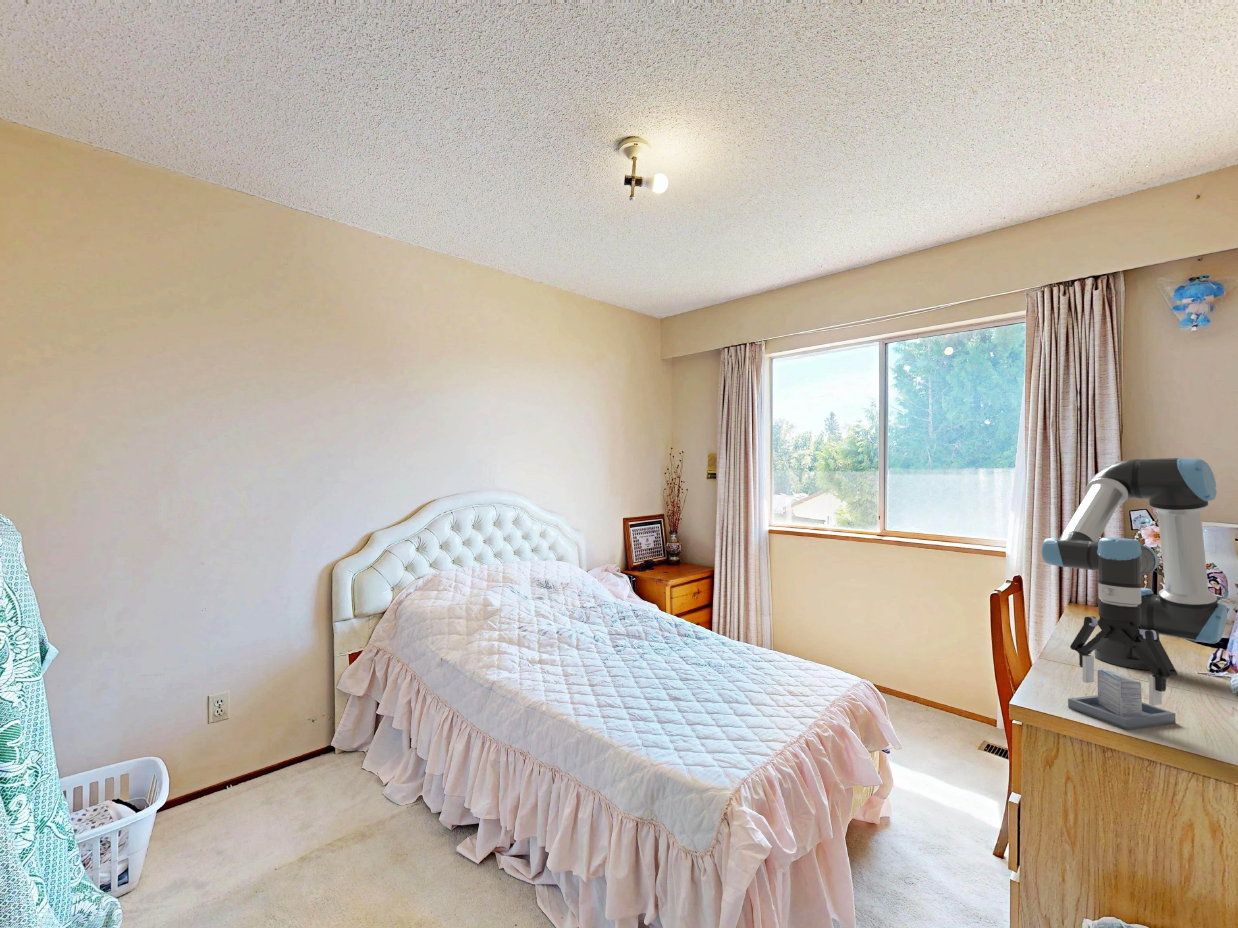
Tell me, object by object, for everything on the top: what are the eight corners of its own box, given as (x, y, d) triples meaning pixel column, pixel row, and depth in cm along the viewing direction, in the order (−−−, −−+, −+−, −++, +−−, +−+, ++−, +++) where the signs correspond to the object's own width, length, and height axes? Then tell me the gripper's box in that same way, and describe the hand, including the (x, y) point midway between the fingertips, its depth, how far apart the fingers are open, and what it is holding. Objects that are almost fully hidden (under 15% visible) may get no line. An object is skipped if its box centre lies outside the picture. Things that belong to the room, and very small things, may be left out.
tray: (1115, 701, 134) (1114, 692, 134) (1175, 722, 123) (1175, 713, 123) (1068, 707, 130) (1068, 698, 130) (1126, 729, 118) (1126, 719, 118)
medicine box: (1142, 720, 122) (1142, 682, 122) (1120, 718, 123) (1120, 680, 123) (1118, 706, 130) (1117, 670, 130) (1097, 704, 131) (1096, 668, 131)
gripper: (1052, 592, 138) (1053, 674, 138) (1175, 616, 114) (1176, 716, 113) (1074, 591, 140) (1074, 672, 140) (1198, 615, 116) (1199, 713, 115)
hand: (1120, 692), depth 126 cm, fingers open, 13 cm apart
